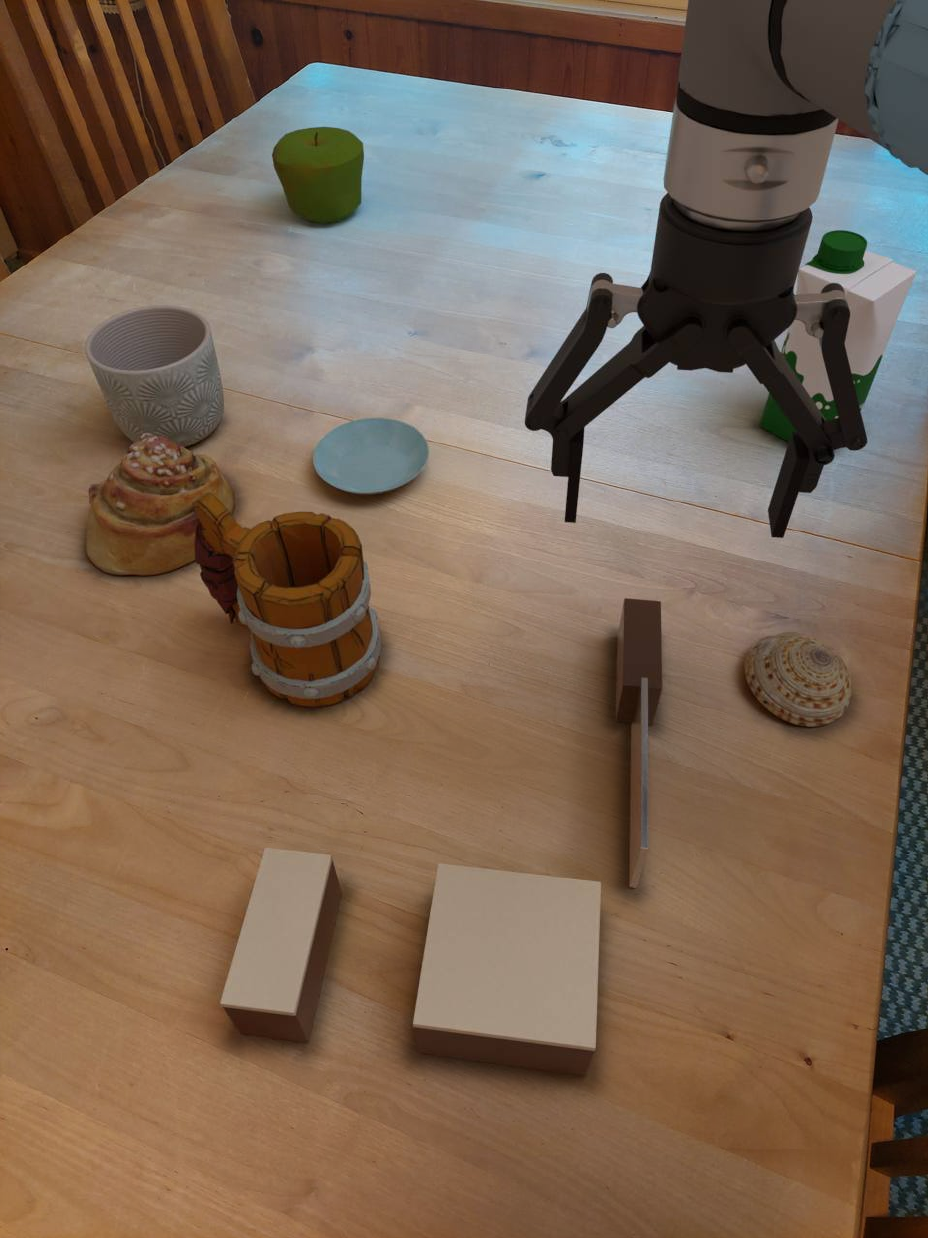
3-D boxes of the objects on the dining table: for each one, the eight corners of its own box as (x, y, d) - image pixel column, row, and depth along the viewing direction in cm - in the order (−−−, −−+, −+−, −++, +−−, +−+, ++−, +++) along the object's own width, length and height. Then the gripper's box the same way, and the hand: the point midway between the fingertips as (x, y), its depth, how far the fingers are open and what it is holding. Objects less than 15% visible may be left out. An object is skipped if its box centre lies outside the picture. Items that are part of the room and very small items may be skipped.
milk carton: (793, 393, 101) (848, 215, 85) (865, 429, 96) (937, 249, 81) (746, 426, 97) (795, 247, 82) (819, 465, 92) (885, 283, 77)
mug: (340, 732, 72) (313, 608, 61) (182, 655, 77) (130, 528, 66) (410, 640, 78) (397, 512, 67) (259, 575, 84) (223, 446, 72)
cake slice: (309, 1043, 57) (294, 1013, 52) (240, 1034, 57) (219, 1003, 53) (342, 893, 63) (331, 854, 59) (280, 886, 64) (264, 847, 59)
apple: (369, 192, 135) (361, 110, 126) (369, 230, 127) (360, 146, 119) (286, 195, 135) (272, 114, 126) (280, 234, 127) (265, 150, 118)
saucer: (379, 525, 88) (376, 507, 86) (292, 478, 92) (288, 460, 91) (452, 462, 94) (452, 444, 92) (367, 421, 98) (365, 403, 97)
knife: (617, 636, 78) (626, 587, 73) (652, 639, 78) (663, 590, 73) (610, 886, 63) (621, 846, 59) (654, 891, 63) (667, 851, 58)
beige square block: (586, 1076, 55) (595, 1048, 51) (418, 1053, 56) (412, 1024, 52) (592, 919, 62) (601, 881, 57) (441, 901, 63) (438, 863, 58)
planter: (207, 468, 94) (180, 378, 85) (97, 454, 95) (61, 365, 87) (249, 398, 102) (228, 310, 93) (147, 386, 103) (118, 299, 95)
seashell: (785, 608, 77) (870, 637, 71) (790, 662, 80) (871, 694, 73) (719, 654, 74) (801, 689, 67) (726, 708, 76) (806, 746, 70)
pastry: (245, 473, 93) (229, 408, 87) (214, 578, 83) (193, 514, 77) (119, 471, 94) (94, 407, 87) (73, 576, 84) (41, 512, 78)
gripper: (480, 222, 44) (482, 540, 59) (1022, 244, 41) (872, 570, 57) (496, 159, 48) (494, 468, 64) (981, 174, 46) (854, 492, 62)
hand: (671, 516), depth 61 cm, fingers open, 13 cm apart
